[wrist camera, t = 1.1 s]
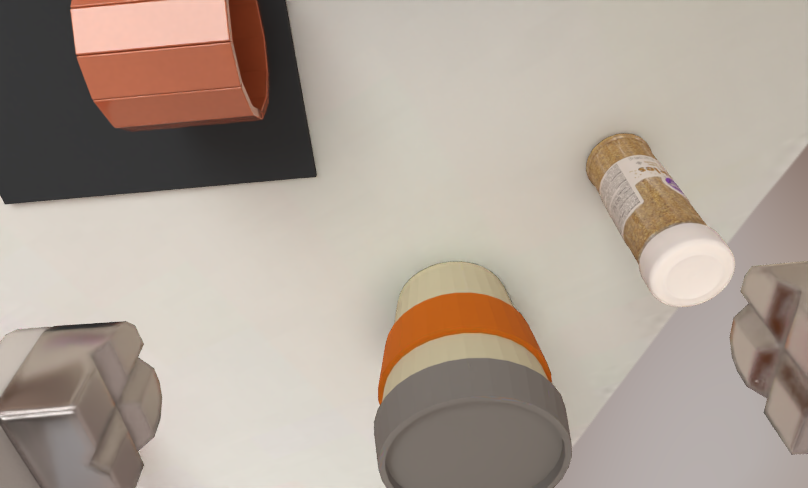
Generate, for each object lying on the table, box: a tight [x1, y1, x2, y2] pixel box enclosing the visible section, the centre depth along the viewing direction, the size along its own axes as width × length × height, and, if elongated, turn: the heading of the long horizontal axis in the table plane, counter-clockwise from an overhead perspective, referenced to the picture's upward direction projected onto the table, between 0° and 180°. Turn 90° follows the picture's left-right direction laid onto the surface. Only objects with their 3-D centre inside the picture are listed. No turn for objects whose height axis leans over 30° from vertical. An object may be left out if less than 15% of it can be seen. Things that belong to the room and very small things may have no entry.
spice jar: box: [586, 134, 735, 307], centre depth 39 cm, size 5×5×13 cm
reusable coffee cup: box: [374, 262, 572, 488], centre depth 46 cm, size 12×12×15 cm
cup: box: [70, 0, 269, 132], centre depth 35 cm, size 8×8×8 cm
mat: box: [0, 0, 317, 204], centre depth 38 cm, size 22×22×1 cm
